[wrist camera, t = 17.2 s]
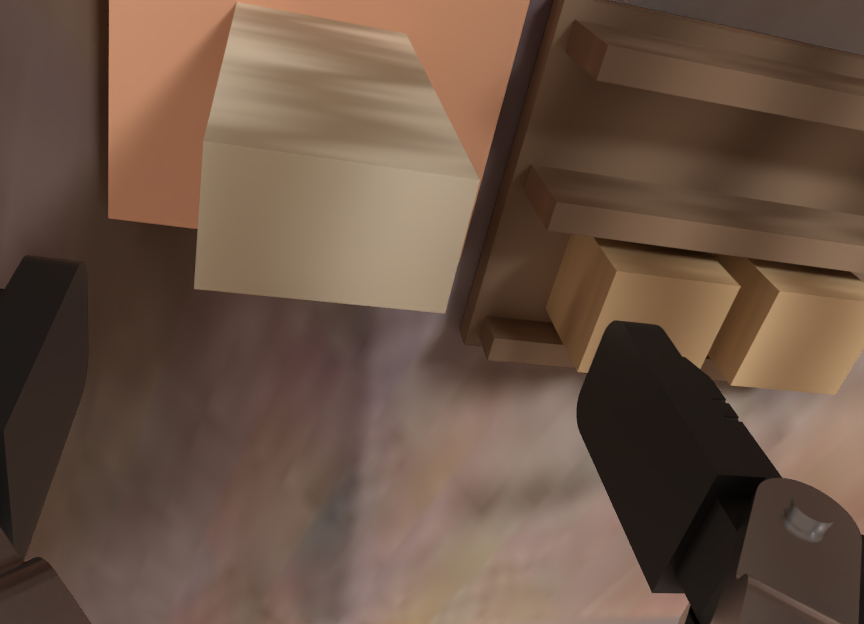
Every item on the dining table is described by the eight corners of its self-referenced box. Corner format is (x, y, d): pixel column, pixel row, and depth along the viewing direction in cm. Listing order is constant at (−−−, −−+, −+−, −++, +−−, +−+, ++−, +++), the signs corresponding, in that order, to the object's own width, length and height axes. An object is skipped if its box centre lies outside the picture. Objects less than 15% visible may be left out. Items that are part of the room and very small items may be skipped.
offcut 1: (689, 230, 29) (740, 286, 26) (650, 319, 31) (693, 382, 28) (577, 215, 28) (616, 271, 25) (545, 308, 30) (577, 372, 27)
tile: (550, -107, 23) (558, -104, 22) (455, 250, 29) (460, 260, 28) (116, -215, 20) (110, -216, 19) (112, 207, 26) (108, 218, 25)
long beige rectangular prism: (405, 33, 24) (480, 180, 15) (388, 127, 25) (445, 313, 16) (236, 2, 22) (203, 140, 13) (228, 103, 24) (193, 289, 15)
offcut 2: (824, 249, 30) (890, 304, 27) (779, 333, 32) (835, 394, 29) (724, 235, 29) (779, 291, 26) (683, 323, 31) (730, 385, 28)
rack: (963, 77, 28) (1052, 114, 25) (800, 363, 35) (854, 422, 32) (556, -11, 24) (598, 19, 21) (459, 330, 31) (480, 393, 28)
